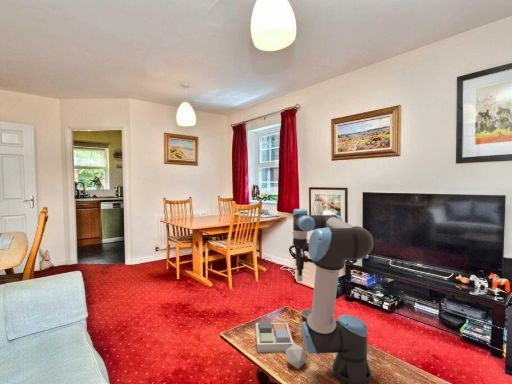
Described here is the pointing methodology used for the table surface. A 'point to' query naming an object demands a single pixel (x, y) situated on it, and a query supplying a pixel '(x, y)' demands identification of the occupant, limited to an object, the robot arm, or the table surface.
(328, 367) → the table surface
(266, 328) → the key charcoal
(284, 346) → the keypad
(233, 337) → the table surface
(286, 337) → the key slate
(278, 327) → the key terracotta
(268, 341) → the key sage
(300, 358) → the die
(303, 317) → the plastic cup
